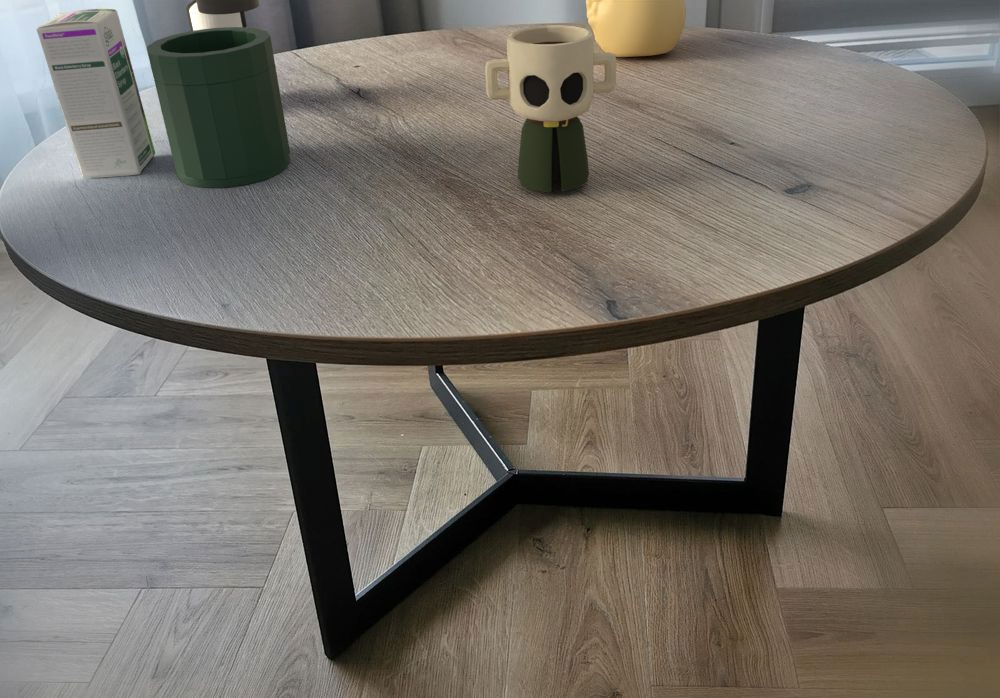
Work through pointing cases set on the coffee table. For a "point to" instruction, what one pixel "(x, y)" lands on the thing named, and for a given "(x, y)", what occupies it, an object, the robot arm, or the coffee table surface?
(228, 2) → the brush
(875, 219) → the coffee table surface
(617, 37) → the sculpture
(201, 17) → the medicine bottle
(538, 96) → the character mug
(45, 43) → the syrup box
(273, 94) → the jar
